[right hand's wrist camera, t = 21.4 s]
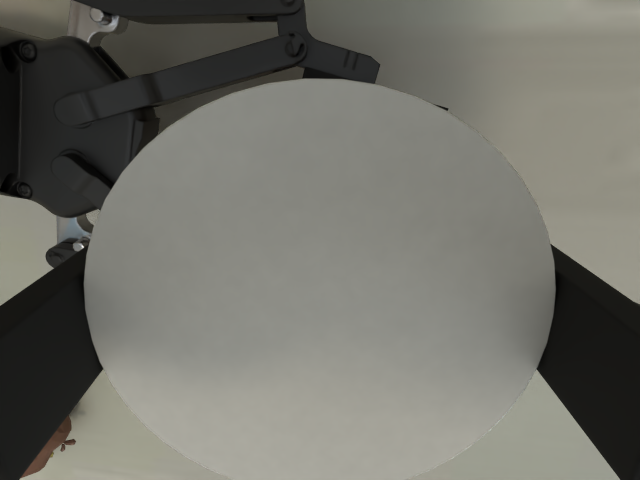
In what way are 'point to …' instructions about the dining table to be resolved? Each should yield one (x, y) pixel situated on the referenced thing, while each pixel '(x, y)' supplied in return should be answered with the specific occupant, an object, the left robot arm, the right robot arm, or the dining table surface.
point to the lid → (319, 284)
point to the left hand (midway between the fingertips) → (400, 218)
